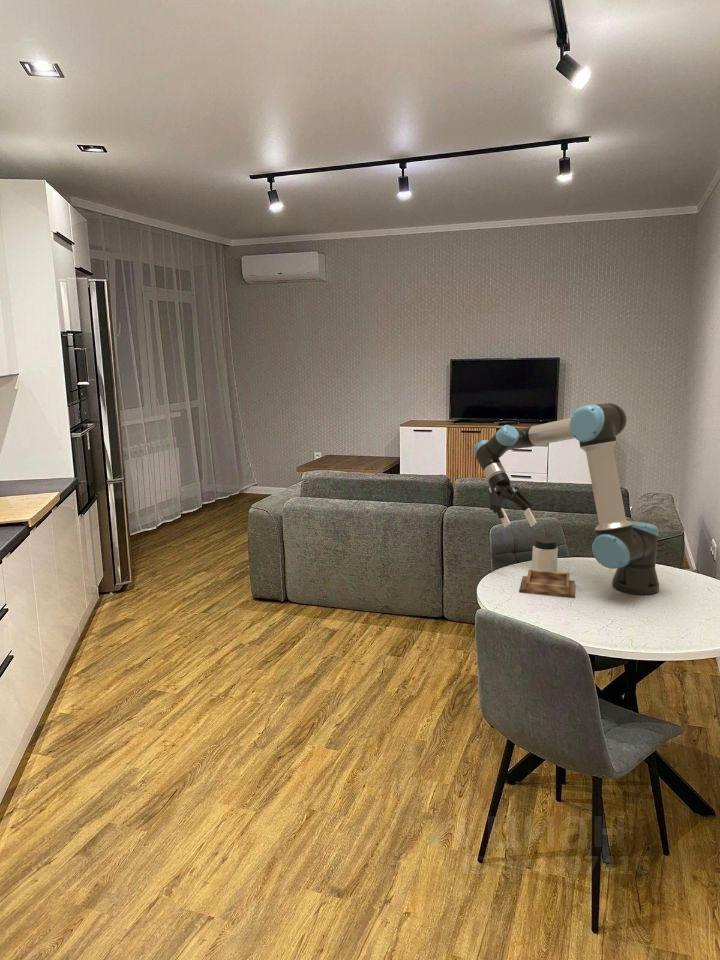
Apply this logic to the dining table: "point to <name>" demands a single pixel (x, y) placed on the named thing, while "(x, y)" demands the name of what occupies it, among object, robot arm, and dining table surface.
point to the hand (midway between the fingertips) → (520, 525)
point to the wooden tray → (548, 584)
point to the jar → (545, 554)
